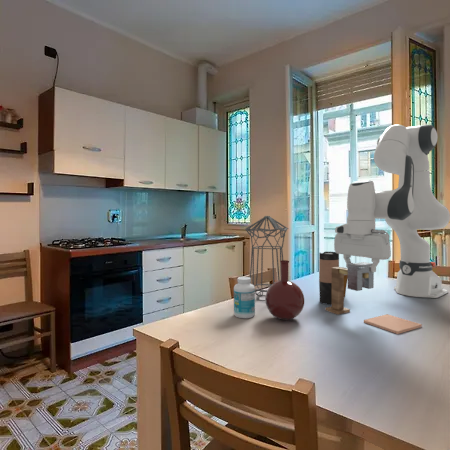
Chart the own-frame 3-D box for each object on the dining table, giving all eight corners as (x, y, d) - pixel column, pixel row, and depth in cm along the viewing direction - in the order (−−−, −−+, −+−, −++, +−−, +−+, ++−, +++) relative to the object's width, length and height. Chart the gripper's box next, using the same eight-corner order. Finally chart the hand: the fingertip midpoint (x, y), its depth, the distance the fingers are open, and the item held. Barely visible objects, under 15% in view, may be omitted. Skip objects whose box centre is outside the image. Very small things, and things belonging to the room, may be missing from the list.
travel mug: (340, 305, 130) (340, 254, 129) (319, 304, 131) (319, 253, 130) (337, 300, 137) (337, 251, 136) (318, 299, 139) (318, 251, 138)
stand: (337, 307, 127) (337, 265, 126) (372, 319, 113) (372, 272, 112) (325, 310, 124) (325, 267, 123) (360, 322, 110) (360, 274, 109)
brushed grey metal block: (363, 285, 117) (363, 262, 117) (373, 287, 113) (373, 263, 113) (347, 288, 113) (347, 264, 113) (357, 290, 110) (357, 265, 109)
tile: (387, 316, 116) (387, 314, 116) (421, 326, 105) (421, 324, 105) (363, 322, 110) (363, 319, 110) (397, 334, 100) (397, 331, 100)
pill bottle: (232, 312, 122) (232, 276, 121) (253, 312, 123) (252, 275, 122) (235, 319, 115) (234, 280, 114) (256, 318, 115) (256, 279, 115)
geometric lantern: (244, 301, 137) (243, 216, 136) (255, 293, 151) (254, 216, 151) (282, 304, 131) (281, 215, 130) (290, 296, 145) (289, 215, 145)
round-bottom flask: (303, 313, 120) (303, 258, 119) (305, 326, 107) (305, 264, 106) (266, 312, 122) (266, 258, 121) (264, 324, 109) (264, 263, 108)
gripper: (395, 230, 105) (395, 273, 105) (343, 227, 123) (343, 264, 123) (382, 230, 102) (381, 275, 102) (331, 227, 120) (331, 266, 120)
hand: (360, 269), depth 113 cm, fingers open, 8 cm apart
